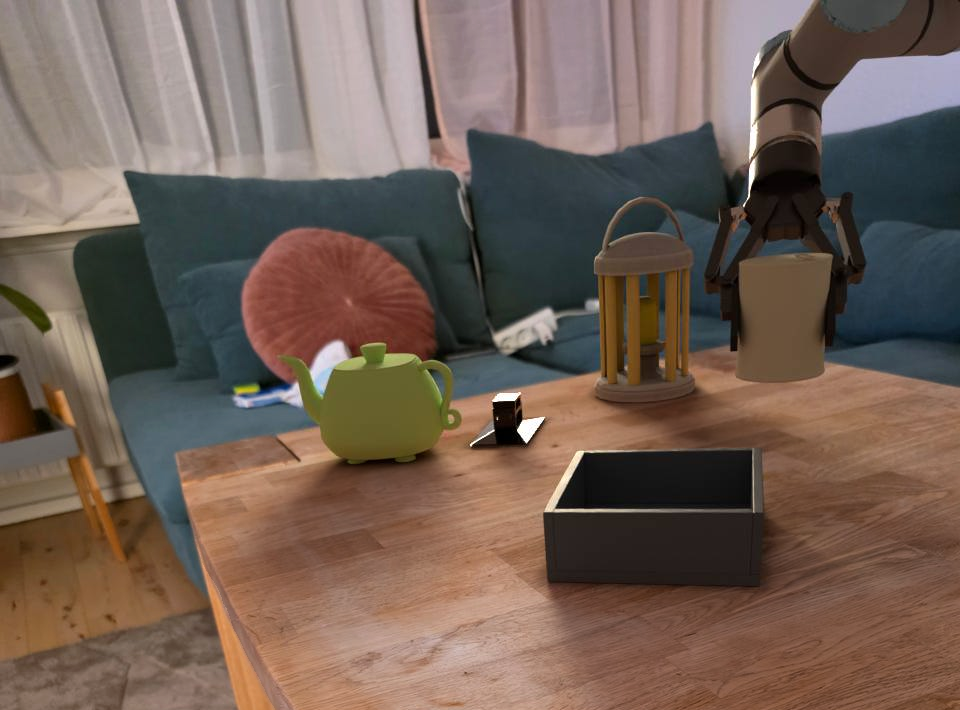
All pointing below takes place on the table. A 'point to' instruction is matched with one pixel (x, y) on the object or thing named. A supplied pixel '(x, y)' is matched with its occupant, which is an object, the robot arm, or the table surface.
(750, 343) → the can
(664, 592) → the table surface
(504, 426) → the dark brown finned block
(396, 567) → the table surface
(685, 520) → the dark grey open box
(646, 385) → the lantern
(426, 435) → the teapot
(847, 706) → the table surface
